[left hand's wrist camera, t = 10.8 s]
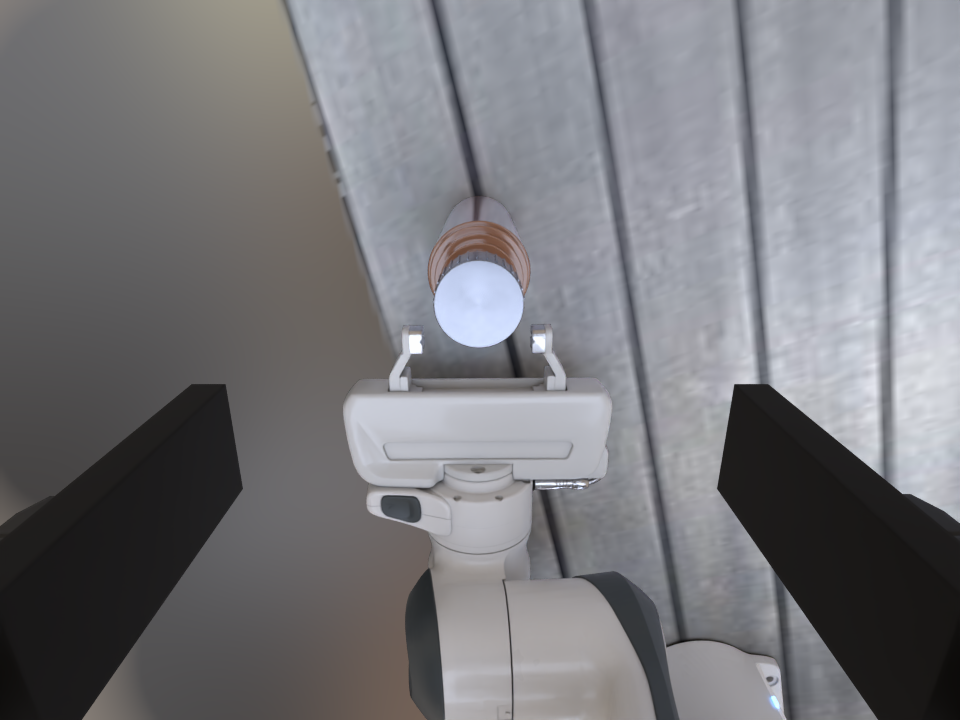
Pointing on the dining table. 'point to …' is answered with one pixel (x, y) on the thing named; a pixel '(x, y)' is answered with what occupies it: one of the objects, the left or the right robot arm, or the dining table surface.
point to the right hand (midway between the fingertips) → (477, 326)
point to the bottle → (479, 237)
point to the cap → (478, 299)
